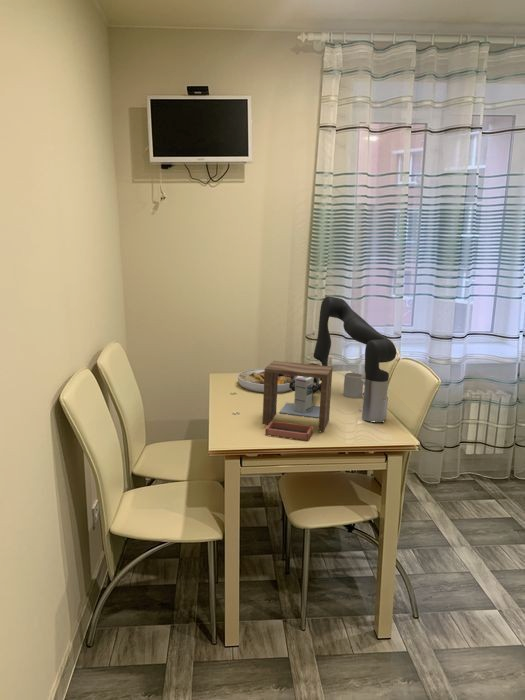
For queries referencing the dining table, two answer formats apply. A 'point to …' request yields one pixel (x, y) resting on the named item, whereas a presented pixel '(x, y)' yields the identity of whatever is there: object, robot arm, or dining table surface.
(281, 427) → the tray
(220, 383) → the dining table surface
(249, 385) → the bowl
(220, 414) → the dining table surface
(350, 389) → the mug
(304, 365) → the walnut tunnel
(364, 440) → the dining table surface
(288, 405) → the pad
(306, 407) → the syrup box
